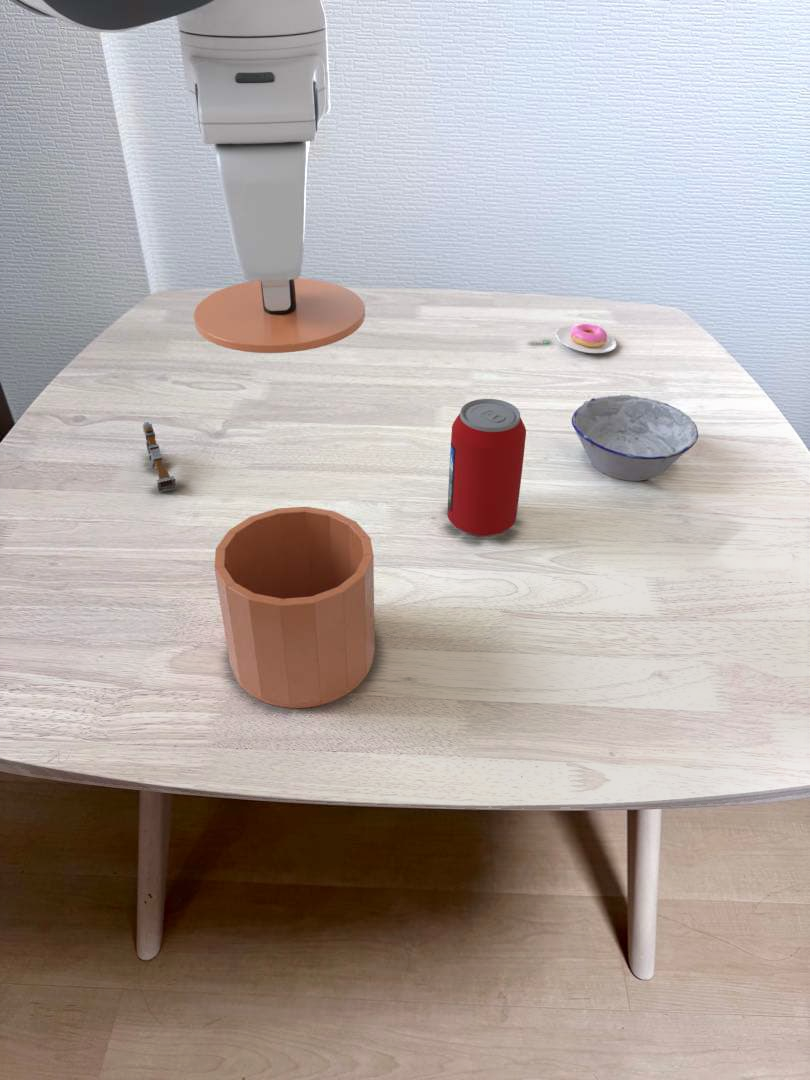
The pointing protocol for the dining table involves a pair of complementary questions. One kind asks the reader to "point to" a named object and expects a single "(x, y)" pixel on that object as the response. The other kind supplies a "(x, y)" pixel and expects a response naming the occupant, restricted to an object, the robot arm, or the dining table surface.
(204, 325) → the lid
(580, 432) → the bowl
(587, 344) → the donut
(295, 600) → the terracotta faceted cylinder
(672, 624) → the dining table surface
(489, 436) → the beverage can
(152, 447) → the wooden post with brackets
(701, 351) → the dining table surface
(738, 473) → the dining table surface
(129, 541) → the dining table surface
